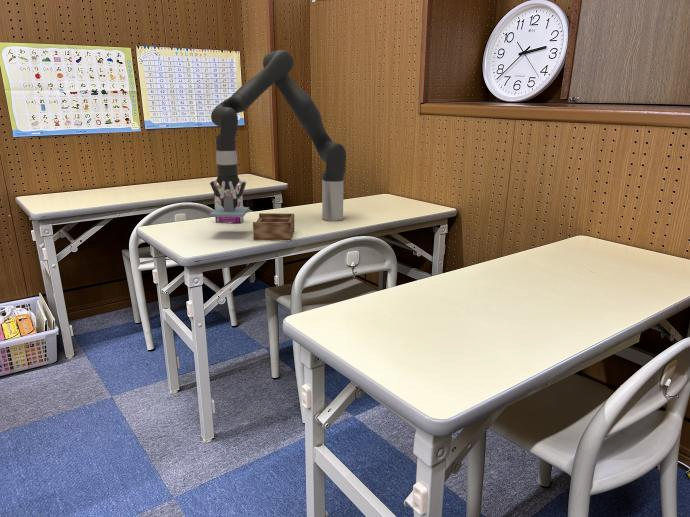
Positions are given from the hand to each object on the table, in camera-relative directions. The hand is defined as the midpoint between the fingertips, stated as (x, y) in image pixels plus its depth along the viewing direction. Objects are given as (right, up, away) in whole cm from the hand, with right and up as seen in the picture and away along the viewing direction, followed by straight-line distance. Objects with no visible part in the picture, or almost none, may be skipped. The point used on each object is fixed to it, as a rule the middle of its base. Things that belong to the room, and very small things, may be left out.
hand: (229, 207), depth 192 cm
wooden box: (+17, -11, +4) cm, 20 cm away
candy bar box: (-5, -4, +22) cm, 23 cm away
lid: (0, -2, +1) cm, 2 cm away
